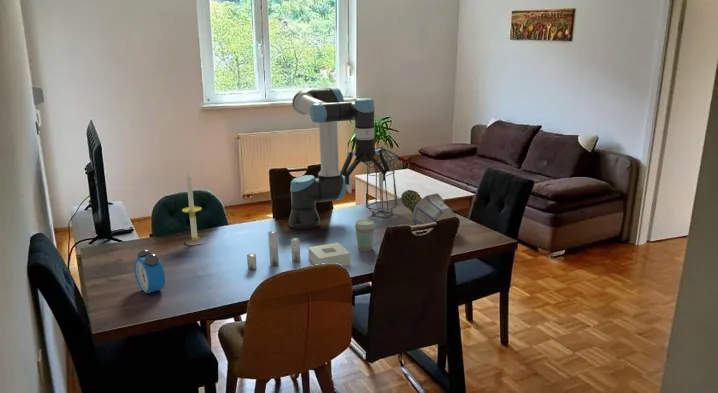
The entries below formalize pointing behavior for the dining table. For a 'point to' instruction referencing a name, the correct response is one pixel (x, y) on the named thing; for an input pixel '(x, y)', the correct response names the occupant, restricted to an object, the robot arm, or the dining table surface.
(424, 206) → the potted plant
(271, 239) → the long pin
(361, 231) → the coffee cup
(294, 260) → the medium pin
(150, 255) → the alarm clock
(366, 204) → the geometric lantern
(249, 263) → the short pin
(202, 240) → the dining table surface
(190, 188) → the candlestick
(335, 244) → the hole block
